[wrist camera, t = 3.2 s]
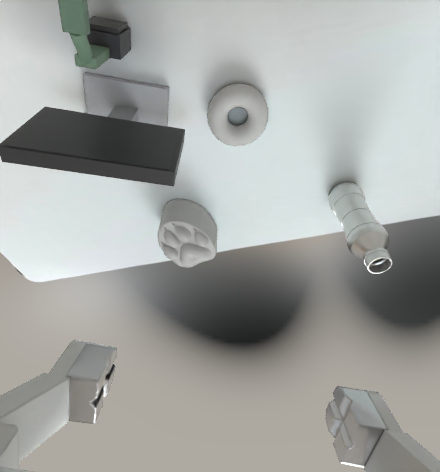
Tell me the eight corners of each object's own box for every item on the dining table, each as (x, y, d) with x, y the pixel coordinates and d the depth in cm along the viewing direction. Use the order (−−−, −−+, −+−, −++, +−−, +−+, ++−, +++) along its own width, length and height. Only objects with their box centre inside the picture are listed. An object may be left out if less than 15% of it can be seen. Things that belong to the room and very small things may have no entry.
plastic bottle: (323, 206, 64) (353, 280, 49) (329, 178, 60) (363, 250, 45) (354, 205, 64) (394, 279, 49) (362, 176, 59) (409, 249, 44)
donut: (206, 138, 55) (262, 143, 55) (205, 147, 52) (263, 152, 52) (209, 77, 48) (272, 83, 48) (207, 84, 45) (274, 90, 46)
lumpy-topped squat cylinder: (184, 248, 73) (180, 276, 66) (150, 210, 65) (142, 237, 59) (222, 232, 69) (222, 260, 63) (191, 190, 62) (187, 217, 55)
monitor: (61, 67, 47) (-14, 118, 32) (191, 90, 49) (176, 147, 34) (71, 130, 54) (13, 195, 39) (185, 148, 56) (171, 216, 41)
